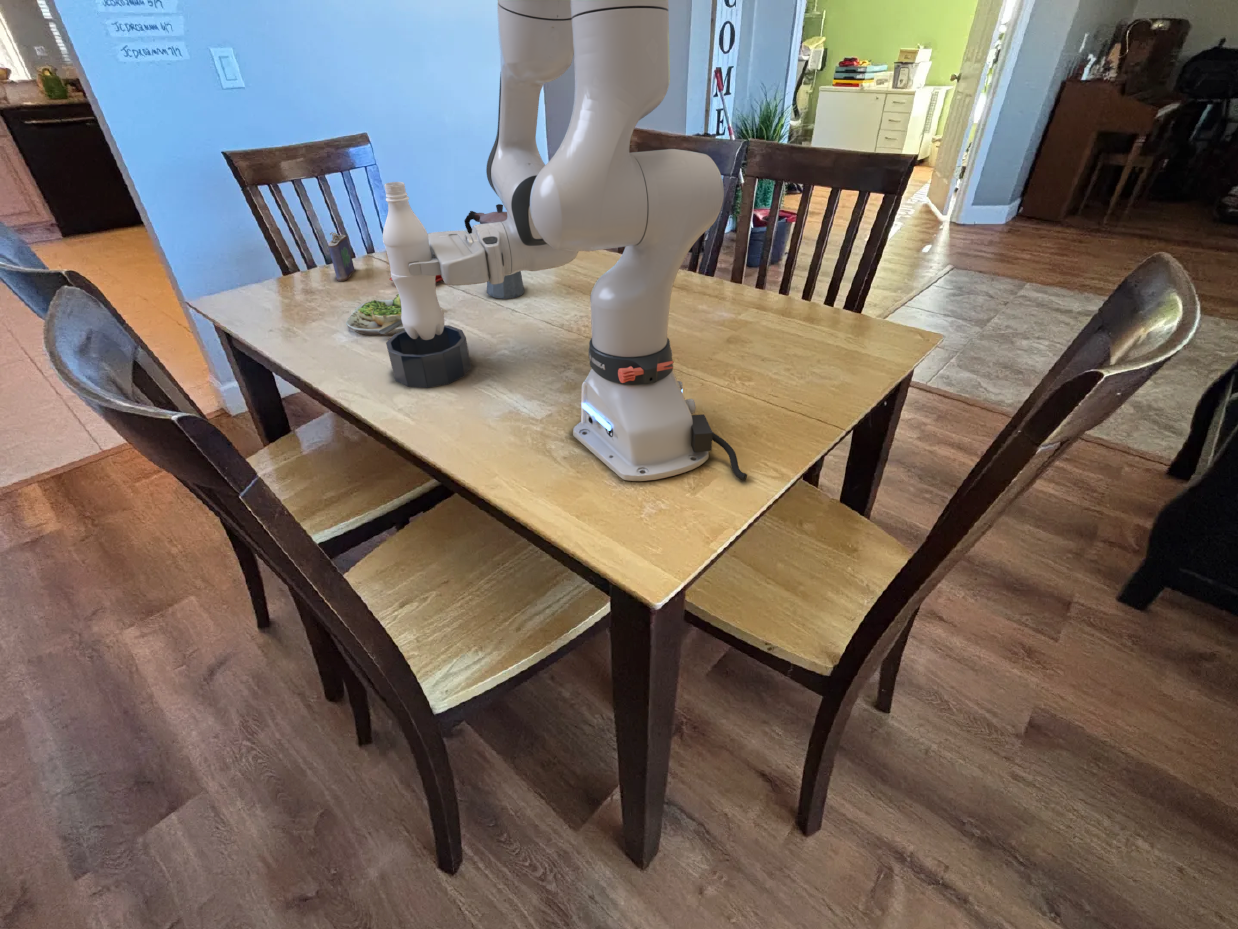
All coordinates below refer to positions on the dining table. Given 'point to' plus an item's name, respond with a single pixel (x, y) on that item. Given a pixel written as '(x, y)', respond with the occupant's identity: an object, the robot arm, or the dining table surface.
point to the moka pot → (511, 283)
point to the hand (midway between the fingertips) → (405, 261)
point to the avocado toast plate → (377, 317)
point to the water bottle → (402, 247)
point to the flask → (341, 256)
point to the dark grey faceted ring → (429, 358)
